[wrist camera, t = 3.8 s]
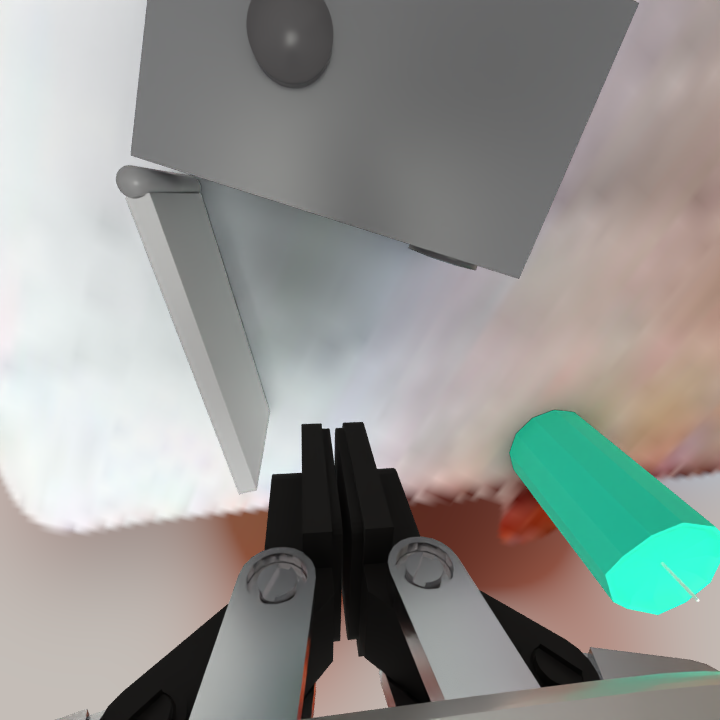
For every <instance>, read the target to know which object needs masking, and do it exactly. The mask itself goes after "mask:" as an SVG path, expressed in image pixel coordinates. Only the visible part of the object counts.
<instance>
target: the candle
mask: <svg viewBox="0 0 720 720" xmlns="http://www.w3.org/2000/svg"><path fill="white" fill-rule="evenodd" d="M509 453H510V457H511V461H512V465H513V469H514V471H515V472H516V473H517V475H518V476H519V477H520V479H521V480H522V481H523V483H524V484H525V485H526V487H527V488H528V489H529V491H530V492H531V493H532V495H533V496H534V497H535V499H536V500H537V501H538V503H539V504H540V505H541V507H542V508H543V509H544V511H545V512H546V513H547V515H548V516H549V517H550V519H551V520H552V521H553V523H554V524H555V525H556V527H557V528H558V529H559V531H560V532H561V533H562V535H563V536H564V537H565V538H566V540H567V541H568V542H569V544H570V545H571V546H572V548H573V549H574V550H575V552H576V553H577V554H578V556H579V557H580V558H581V560H582V561H583V562H584V564H585V565H586V566H587V568H588V569H589V570H590V572H591V573H592V574H593V576H594V577H595V578H596V580H597V581H598V582H599V584H600V585H601V586H602V588H603V589H604V590H605V592H606V593H607V594H608V596H609V597H610V598H611V600H612V601H613V602H615V603H617V604H619V605H621V606H623V607H625V608H627V609H632V610H636V611H642V612H646V613H651V614H656V615H659V614H661V613H663V612H665V611H668V610H670V609H672V608H674V607H677V606H679V605H681V604H683V603H685V602H687V601H688V600H689V599H691V598H692V597H693V598H694V599H695V600H696V601H697V602H698V601H699V599H698V598H697V596H696V595H695V594H697V593H698V592H699V591H700V590H702V589H703V588H704V587H705V586H707V585H708V584H709V583H710V582H711V580H712V578H713V576H714V574H715V572H716V570H717V568H718V566H719V564H720V531H719V530H718V529H717V528H716V527H715V526H714V525H713V524H711V523H710V522H709V521H708V520H706V519H705V518H704V517H703V516H701V515H700V514H699V513H698V512H697V511H695V510H694V509H693V508H691V507H690V506H689V505H688V504H686V503H685V502H684V501H683V500H681V498H679V497H678V496H677V495H676V494H674V493H673V492H672V491H671V490H669V489H668V488H667V487H666V486H665V485H663V484H662V483H661V482H660V481H658V480H657V479H656V478H655V477H653V476H652V475H651V474H650V473H649V472H647V471H646V470H645V469H644V468H642V467H641V466H640V465H639V464H637V463H636V462H635V461H634V460H633V459H631V458H630V457H629V456H628V455H626V454H625V453H624V452H623V451H621V450H620V449H619V448H618V447H617V446H615V445H614V444H613V443H612V442H610V441H609V440H608V439H607V438H605V437H604V436H603V435H602V434H601V433H599V432H598V431H597V430H596V429H594V428H593V427H592V426H591V425H589V424H588V423H587V422H586V421H585V420H583V419H582V418H581V417H580V416H578V415H577V414H576V413H575V412H569V411H560V410H552V411H550V412H547V413H544V414H542V415H539V416H536V417H534V418H532V419H531V420H530V421H529V422H528V423H527V424H526V425H525V426H524V427H523V428H522V429H521V430H520V431H519V432H518V433H517V434H516V436H515V438H514V441H513V444H512V447H511V450H510V452H509Z"/></svg>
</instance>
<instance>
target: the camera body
mask: <svg viewBox="0 0 720 720" xmlns="http://www.w3.org/2000/svg"><path fill="white" fill-rule="evenodd" d="M638 4H639V3H637V2H636V1H634V0H147V8H146V17H145V27H144V36H143V45H142V54H141V64H140V73H139V82H138V91H137V101H136V110H135V119H134V128H133V137H132V147H131V156H134V157H137V158H140V159H144V160H147V161H150V162H153V163H156V164H159V165H162V166H166V167H169V168H172V169H175V170H178V171H181V172H184V173H188V174H191V175H194V176H197V177H200V178H203V179H206V180H210V181H213V182H216V183H219V184H222V185H225V186H228V187H232V188H235V189H238V190H241V191H244V192H247V193H250V194H254V195H257V196H260V197H263V198H266V199H269V200H273V201H276V202H279V203H282V204H285V205H288V206H291V207H295V208H298V209H301V210H304V211H307V212H310V213H313V214H317V215H320V216H323V217H326V218H329V219H332V220H335V221H339V222H342V223H345V224H348V225H351V226H354V227H357V228H361V229H364V230H367V231H370V232H373V233H376V234H379V235H383V236H386V237H389V238H392V239H395V240H398V241H401V242H405V243H408V244H410V245H409V247H408V248H409V249H412V250H414V251H417V252H419V253H421V254H424V255H426V256H429V257H432V258H434V259H437V260H440V261H443V262H446V263H450V264H453V265H456V266H460V267H464V268H468V269H472V270H476V268H477V266H480V267H483V268H486V269H489V270H493V271H496V272H499V273H502V274H505V275H508V276H511V277H515V278H518V279H519V278H520V276H521V273H522V271H523V269H524V266H525V264H526V262H527V260H528V257H529V255H530V253H531V250H532V248H533V246H534V243H535V241H536V239H537V237H538V234H539V232H540V230H541V227H542V225H543V223H544V220H545V218H546V216H547V214H548V211H549V209H550V207H551V204H552V202H553V200H554V197H555V195H556V193H557V191H558V188H559V186H560V184H561V181H562V179H563V177H564V174H565V172H566V170H567V168H568V165H569V163H570V161H571V158H572V156H573V154H574V151H575V149H576V147H577V145H578V142H579V140H580V138H581V135H582V133H583V131H584V128H585V126H586V124H587V122H588V119H589V117H590V115H591V112H592V110H593V108H594V105H595V103H596V101H597V99H598V96H599V94H600V92H601V89H602V87H603V85H604V82H605V80H606V78H607V76H608V73H609V71H610V69H611V66H612V64H613V62H614V59H615V57H616V55H617V53H618V50H619V48H620V46H621V43H622V41H623V39H624V36H625V34H626V32H627V30H628V27H629V25H630V23H631V20H632V18H633V16H634V13H635V11H636V9H637V7H638Z"/></svg>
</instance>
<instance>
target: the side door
mask: <svg viewBox="0 0 720 720" xmlns="http://www.w3.org/2000/svg"><path fill="white" fill-rule="evenodd" d="M116 183H117V186H118V188H119V190H120V191H121V192H122V193H123V194H124V195H126V196H127V197H126V201H127V203H128V206H129V209H130V211H131V214H132V216H133V219H134V222H135V224H136V227H137V229H138V232H139V235H140V237H141V240H142V242H143V245H144V248H145V250H146V253H147V255H148V258H149V261H150V263H151V266H152V269H153V271H154V274H155V276H156V279H157V282H158V284H159V287H160V289H161V292H162V295H163V297H164V300H165V302H166V305H167V308H168V310H169V313H170V315H171V318H172V321H173V323H174V326H175V328H176V331H177V334H178V336H179V339H180V341H181V344H182V347H183V349H184V352H185V355H186V357H187V360H188V362H189V365H190V368H191V370H192V373H193V375H194V378H195V381H196V383H197V386H198V388H199V391H200V394H201V396H202V399H203V401H204V404H205V407H206V409H207V412H208V414H209V417H210V420H211V422H212V425H213V428H214V430H215V433H216V435H217V438H218V441H219V443H220V446H221V448H222V451H223V454H224V456H225V459H226V461H227V464H228V467H229V469H230V472H231V474H232V477H233V480H234V482H235V485H236V487H237V490H238V493H239V494H243V493H247V492H251V491H256V490H257V486H258V480H259V474H260V468H261V462H262V456H263V451H264V445H265V439H266V433H267V427H268V421H269V415H270V411H269V407H268V404H267V401H266V398H265V395H264V392H263V388H262V385H261V382H260V379H259V376H258V373H257V369H256V366H255V363H254V360H253V357H252V354H251V350H250V347H249V344H248V341H247V338H246V335H245V331H244V328H243V325H242V322H241V319H240V315H239V312H238V309H237V306H236V303H235V300H234V296H233V293H232V290H231V287H230V284H229V281H228V277H227V274H226V271H225V268H224V265H223V262H222V258H221V255H220V252H219V249H218V246H217V243H216V239H215V236H214V233H213V230H212V227H211V224H210V220H209V217H208V214H207V211H206V208H205V204H204V201H203V198H202V195H201V193H200V191H201V185H200V182H199V181H198V179H197V178H195V177H194V176H191V175H185V174H179V173H173V172H167V171H161V170H155V169H149V168H143V167H137V166H129V165H128V166H124V167H122V168H121V169H120V170H119V171H118V173H117V175H116Z"/></svg>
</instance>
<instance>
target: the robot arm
mask: <svg viewBox="0 0 720 720" xmlns="http://www.w3.org/2000/svg"><path fill="white" fill-rule="evenodd" d="M341 593H342V596H343V604H344V613H345V623H346V631H347V638H348V640H351V639H356V640H357V647H358V655H359V656H364V657H365V658H366V659H367V660H369V661H370V662H371V663H372V664H374V665H375V666H376V667H377V668H378V669H379V675H380V681H381V686H382V689H383V692H384V695H385V698H386V702H387V705H388V708H383V709H376V710H368V711H361V712H353V713H346V714H339V715H331V716H324V717H317V718H313V715H314V705H315V695H316V681H317V680H318V679H319V678H320V676H321V675H322V674H323V672H324V671H325V670H326V669H327V668H328V666H329V665H330V664H331V663H332V661H333V642H334V641H340V626H341ZM56 720H720V671H718V670H716V669H714V668H712V667H710V666H709V665H707V664H704V663H700V662H696V661H693V660H687V659H680V658H672V657H664V656H656V655H648V654H640V653H632V652H624V651H617V650H608V649H601V648H592V647H590V650H589V652H588V653H582V652H581V651H580V650H579V649H578V648H577V647H575V646H574V645H573V644H571V643H570V642H568V641H567V640H566V639H564V638H562V637H560V636H559V635H557V634H555V633H553V632H552V631H550V630H548V629H546V628H545V627H543V626H541V625H539V624H538V623H536V622H534V621H532V620H531V619H529V618H527V617H525V616H524V615H522V614H520V613H519V612H517V611H515V610H513V609H512V608H510V607H508V606H506V605H505V604H503V603H501V602H499V601H498V600H496V599H494V598H492V597H490V596H489V595H487V594H485V593H484V592H482V591H480V590H478V588H477V587H476V585H475V584H474V582H473V580H472V579H471V577H470V576H469V574H468V573H467V571H466V570H465V568H464V566H463V565H462V564H461V562H460V560H459V559H458V557H457V556H456V555H455V554H454V552H453V551H452V550H451V549H450V548H449V547H447V546H446V545H444V544H443V543H441V542H439V541H437V540H434V539H432V538H426V537H420V535H419V532H418V529H417V526H416V523H415V521H414V518H413V515H412V512H411V510H410V507H409V504H408V501H407V499H406V496H405V493H404V490H403V488H402V485H401V482H400V479H399V477H398V474H397V471H396V469H394V468H386V469H377V468H376V464H375V461H374V457H373V454H372V451H371V447H370V444H369V440H368V437H367V433H366V430H365V427H364V423H363V422H350V423H343V426H342V428H336V429H335V466H334V458H333V451H332V443H331V436H330V429H322V424H302V473H290V474H273V475H272V480H271V490H270V500H269V510H268V521H267V531H266V541H265V550H264V551H262V552H260V553H258V554H257V555H255V556H253V557H252V558H251V559H250V560H249V561H248V562H247V563H246V564H245V565H244V566H243V568H242V570H241V572H240V574H239V575H238V578H237V581H236V584H235V587H234V590H233V593H232V596H231V599H230V602H229V604H227V605H226V606H225V607H224V608H223V609H221V610H220V611H219V612H218V613H217V614H215V615H214V616H213V617H212V618H211V619H209V620H208V621H207V622H206V623H205V624H203V625H202V626H201V627H200V628H199V629H198V630H196V631H195V632H194V633H193V634H191V635H190V636H189V637H188V638H187V639H186V640H184V641H183V642H182V643H181V644H179V645H178V646H177V647H176V648H175V649H173V650H172V651H171V652H170V653H169V654H168V655H166V656H165V657H164V658H163V659H161V660H160V661H159V662H158V663H157V664H155V665H154V666H153V667H152V668H151V669H149V670H148V671H147V672H146V673H145V674H143V675H142V676H141V677H140V678H139V679H138V680H136V681H135V682H134V683H133V684H131V685H130V686H129V687H128V688H127V689H125V690H124V691H123V692H122V693H121V694H120V695H119V696H118V697H117V698H116V699H115V700H114V701H113V702H112V703H111V704H110V705H109V706H108V708H107V709H106V710H104V711H102V712H99V713H96V714H93V715H90V716H89V712H88V709H86V710H83V711H80V712H77V713H74V714H71V715H68V716H66V717H62V718H59V719H56Z"/></svg>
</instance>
